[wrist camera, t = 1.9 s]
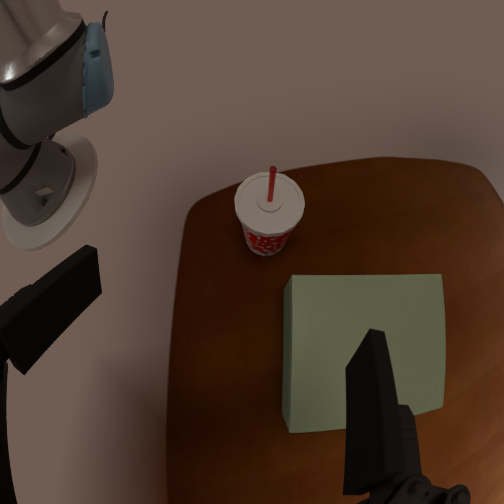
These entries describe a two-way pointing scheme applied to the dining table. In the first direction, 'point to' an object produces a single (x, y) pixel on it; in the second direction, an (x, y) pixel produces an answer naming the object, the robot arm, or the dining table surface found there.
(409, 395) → the shelf
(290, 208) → the beverage cup
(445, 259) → the dining table surface
